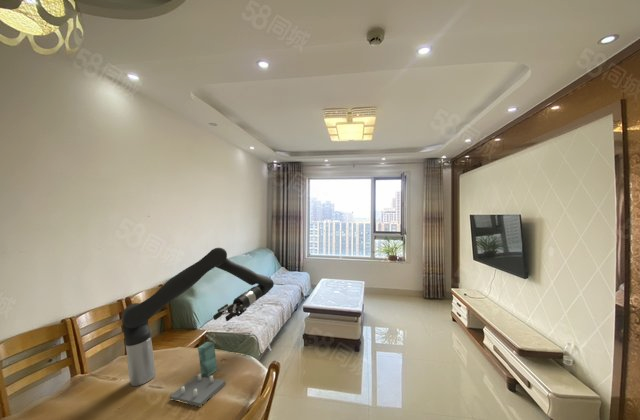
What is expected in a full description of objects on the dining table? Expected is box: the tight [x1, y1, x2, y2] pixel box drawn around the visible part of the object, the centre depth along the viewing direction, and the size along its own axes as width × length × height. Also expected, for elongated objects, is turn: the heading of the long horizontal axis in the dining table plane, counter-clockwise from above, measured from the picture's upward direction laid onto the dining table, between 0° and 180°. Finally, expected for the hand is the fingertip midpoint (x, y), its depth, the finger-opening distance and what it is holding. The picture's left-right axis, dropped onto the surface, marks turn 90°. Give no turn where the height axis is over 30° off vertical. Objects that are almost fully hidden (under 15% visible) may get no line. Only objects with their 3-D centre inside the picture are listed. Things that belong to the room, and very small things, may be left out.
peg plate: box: [169, 373, 227, 407], centre depth 98 cm, size 16×12×4 cm
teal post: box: [197, 341, 218, 378], centre depth 110 cm, size 4×5×12 cm
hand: (220, 318), depth 117 cm, fingers open, 8 cm apart
